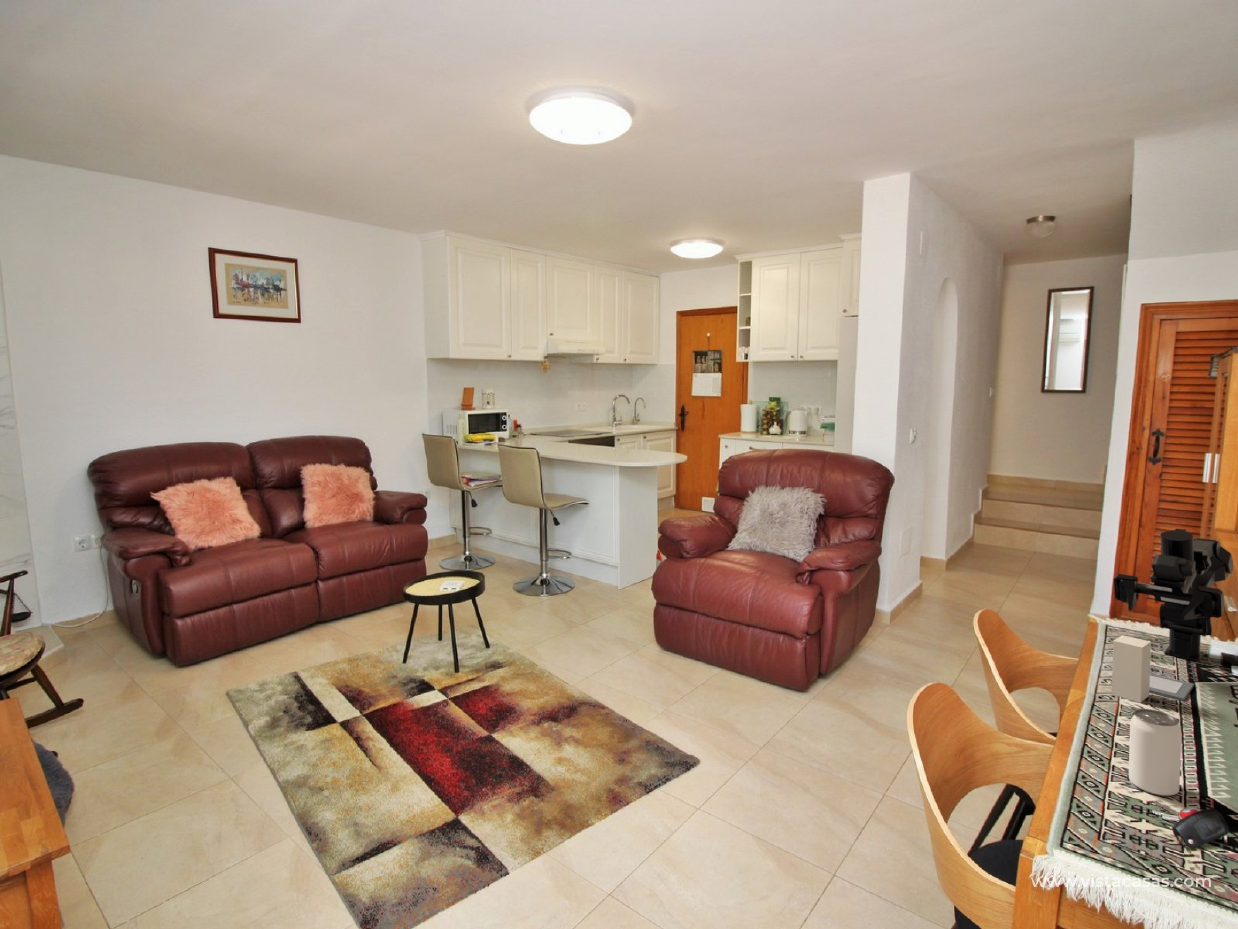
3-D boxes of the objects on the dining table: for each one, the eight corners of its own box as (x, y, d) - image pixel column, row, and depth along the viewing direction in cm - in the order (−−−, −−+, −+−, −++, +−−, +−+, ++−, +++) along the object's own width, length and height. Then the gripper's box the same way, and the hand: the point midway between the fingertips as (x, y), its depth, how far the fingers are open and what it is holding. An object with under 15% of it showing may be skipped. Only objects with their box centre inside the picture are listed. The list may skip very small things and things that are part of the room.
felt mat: (1136, 672, 147) (1136, 669, 147) (1193, 686, 139) (1193, 683, 139) (1124, 686, 141) (1124, 683, 141) (1183, 701, 133) (1183, 698, 133)
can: (1159, 774, 109) (1162, 707, 107) (1189, 798, 102) (1192, 727, 101) (1119, 774, 109) (1121, 707, 108) (1146, 797, 103) (1148, 726, 102)
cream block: (1120, 687, 140) (1122, 635, 139) (1149, 695, 136) (1150, 641, 135) (1111, 694, 137) (1113, 640, 136) (1140, 702, 133) (1142, 647, 132)
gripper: (1123, 542, 152) (1101, 572, 144) (1229, 555, 138) (1211, 589, 129) (1126, 583, 155) (1104, 615, 147) (1230, 600, 140) (1213, 636, 132)
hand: (1155, 613), depth 139 cm, fingers open, 9 cm apart
